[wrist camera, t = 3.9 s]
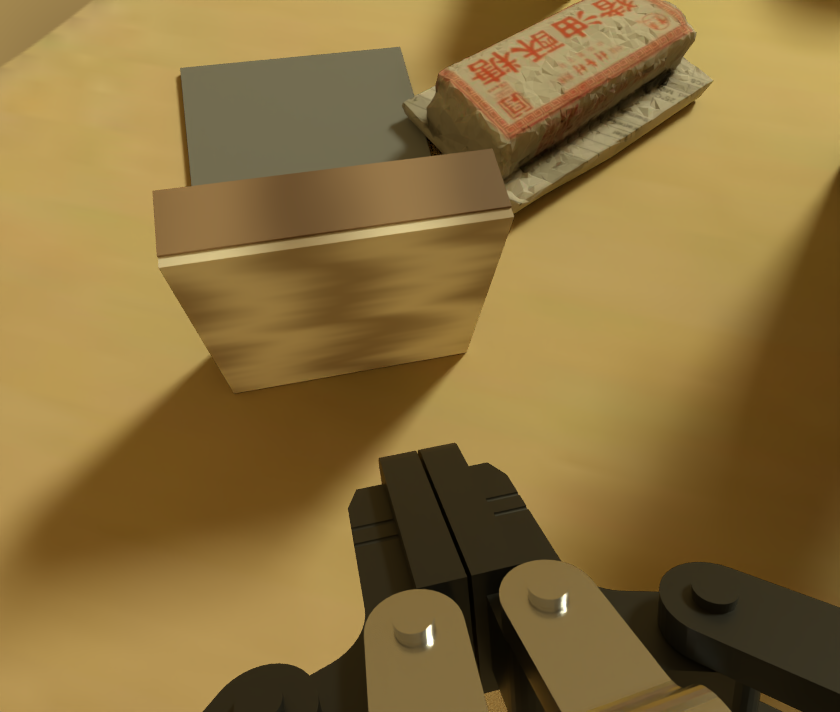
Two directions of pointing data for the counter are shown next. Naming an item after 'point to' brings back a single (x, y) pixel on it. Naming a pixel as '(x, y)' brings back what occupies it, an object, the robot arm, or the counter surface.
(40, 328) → the counter surface
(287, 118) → the mat
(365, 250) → the walnut tile
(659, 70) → the packaged product
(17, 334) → the counter surface
